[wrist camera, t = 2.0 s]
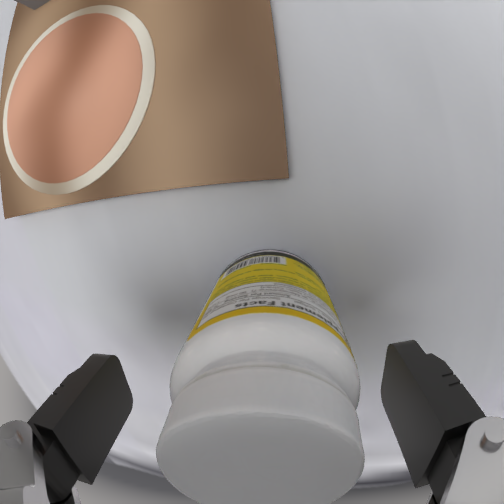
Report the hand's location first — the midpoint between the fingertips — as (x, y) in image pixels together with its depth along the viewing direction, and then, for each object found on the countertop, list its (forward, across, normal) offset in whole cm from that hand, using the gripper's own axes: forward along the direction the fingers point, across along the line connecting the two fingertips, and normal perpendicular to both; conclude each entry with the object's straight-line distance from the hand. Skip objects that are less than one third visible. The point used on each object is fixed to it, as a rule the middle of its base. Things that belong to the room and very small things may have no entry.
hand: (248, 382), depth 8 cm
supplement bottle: (+5, -1, 0) cm, 5 cm away
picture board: (+5, +5, -15) cm, 16 cm away
